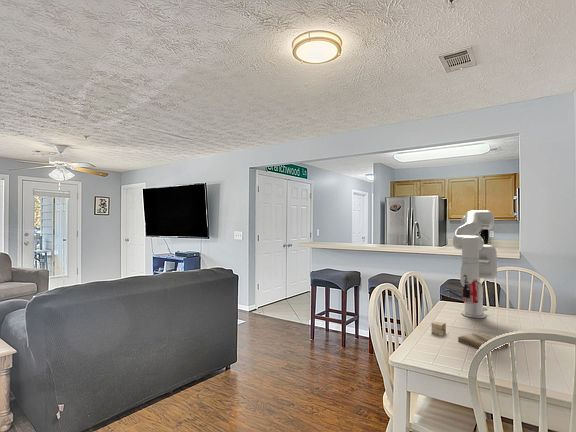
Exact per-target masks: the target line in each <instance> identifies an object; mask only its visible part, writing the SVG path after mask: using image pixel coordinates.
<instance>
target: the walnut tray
mask: <svg viewBox="0 0 576 432" xmlns="http://www.w3.org/2000/svg"><path fill="white" fill-rule="evenodd" d="M492 338H494V337H493V336H489V335H486V334H484V333H481V332H476V333H475V332H474V333H470V334H466V335H465V334H464V335H459V336H458V337H457V339H458V342H459V343H463V344H465V345H467V346H471V347H472V348H476V349H478V348H479V347H480V346H481V345H482V344H484V343H485V342H487V341H488V340H490V339H492ZM507 346H508V347H509V343H508V344H505V345H503V346H501V347H499V348H501V349H503V348H502V347H505V348H508V347H507ZM499 348H497V350H500V349H499ZM497 350H496V349H495V350H494V351H497Z"/></svg>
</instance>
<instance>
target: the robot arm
mask: <svg viewBox="0 0 576 432" xmlns="http://www.w3.org/2000/svg"><path fill="white" fill-rule="evenodd" d="M460 224H461V226H459V227H457V228H456V229H455V231H454V232H453V238H452V246H453V247H454V249H456V250H460V251H461V257H462V258H461V267H460V279H459V281H460V282H459V283H460V284H461V287H462V298H463V297H466V298H470V290H469V288H470V284H472V282H473V280H477V282H478V286H479V299H478V303H476V304H468V303H465V302H464V301H463V302H464V303H463V304H464V306H463V307H464V308H463V309H464V310H462V311H461V313H460V314H461V315H462V316H464V317H467V318H473V319H485V318H486V317H487V315H486V314H485V313H484V312H487V311H488V308H487V307H483V306H484V305H483V304H484V303H483V301H484V295H483V293H484V292H483V289H484V287H483V285H482V283H481V279H483V280H494V279H495V280H496V278H497V277H498V276H497V275H498V259H497V257H498V256H497V254H498V253H497V250H496V249H497V248H496V247H495V246H494V245H492V244H491V245H490V244H485V241H484V239H483V237H482V236H481V235H480V232H481V231H482V230H491V229H493V228H494V226H495V214H494V213H493V212H492V211H490V210H487V209H486V210H469V211H467V212H466V213H465V215H464V216H462V217H461V219H460ZM465 282H468V283H465ZM465 284H466V285H465ZM467 285H468V286H467Z"/></svg>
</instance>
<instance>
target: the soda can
mask: <svg viewBox="0 0 576 432" xmlns="http://www.w3.org/2000/svg"><path fill="white" fill-rule="evenodd" d="M465 283H468V282H465ZM465 285H466V284H465ZM467 286H468V285H467ZM469 290H470V298H466V297H463V296H462V301H463V302H465V303H468V304H476V303H478V299H479V286H478V282H477V280H473V282H472V284H470V288H469Z"/></svg>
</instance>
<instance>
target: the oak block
mask: <svg viewBox="0 0 576 432" xmlns="http://www.w3.org/2000/svg"><path fill="white" fill-rule="evenodd" d="M446 332H447V323H446V322H443V321H437V320H435V321H433V322H431V333H432V334H434V335H438V336H443V335H445V334H446Z"/></svg>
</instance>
